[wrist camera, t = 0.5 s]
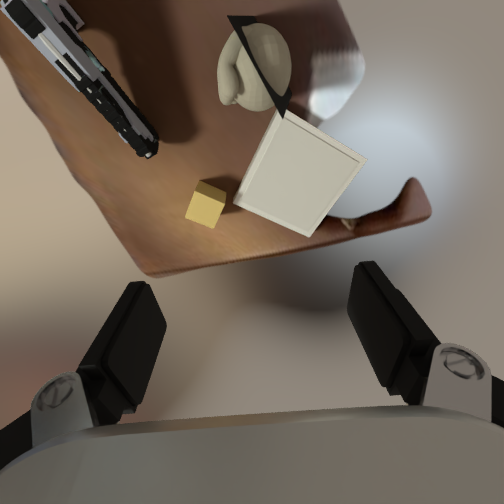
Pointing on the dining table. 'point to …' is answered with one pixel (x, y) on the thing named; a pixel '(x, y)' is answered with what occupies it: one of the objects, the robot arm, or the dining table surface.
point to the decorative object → (254, 67)
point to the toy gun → (81, 66)
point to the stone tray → (296, 174)
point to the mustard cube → (206, 204)
